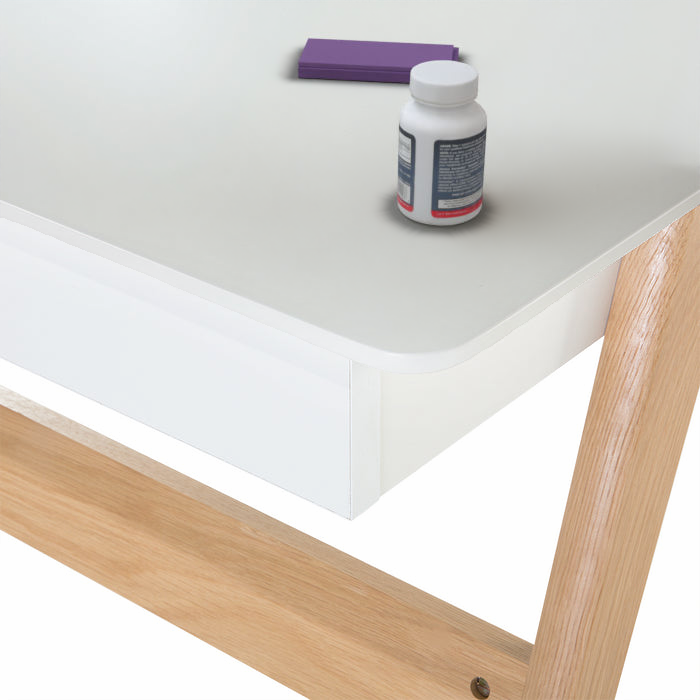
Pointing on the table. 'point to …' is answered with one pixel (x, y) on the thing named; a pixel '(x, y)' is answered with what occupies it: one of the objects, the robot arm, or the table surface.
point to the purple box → (368, 59)
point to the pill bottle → (442, 145)
